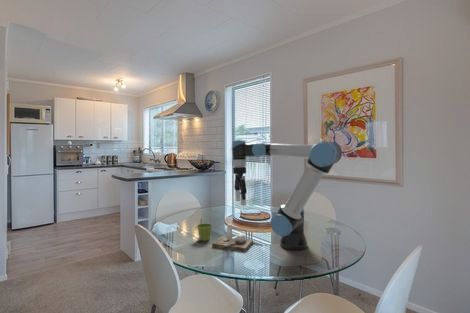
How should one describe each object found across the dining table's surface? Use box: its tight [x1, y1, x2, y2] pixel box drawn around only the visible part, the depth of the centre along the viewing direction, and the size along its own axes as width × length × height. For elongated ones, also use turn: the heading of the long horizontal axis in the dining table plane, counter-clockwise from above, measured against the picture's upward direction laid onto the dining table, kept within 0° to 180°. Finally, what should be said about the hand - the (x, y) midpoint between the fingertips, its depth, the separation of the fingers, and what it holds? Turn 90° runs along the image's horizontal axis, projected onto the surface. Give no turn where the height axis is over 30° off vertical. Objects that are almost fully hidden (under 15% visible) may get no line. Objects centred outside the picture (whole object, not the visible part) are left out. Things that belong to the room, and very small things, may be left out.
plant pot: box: [196, 223, 213, 242], centre depth 166 cm, size 9×9×9 cm
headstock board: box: [211, 235, 254, 252], centre depth 155 cm, size 20×16×2 cm
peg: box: [224, 223, 246, 243], centre depth 154 cm, size 15×6×11 cm, turn 128°
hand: (240, 203), depth 157 cm, fingers open, 13 cm apart
